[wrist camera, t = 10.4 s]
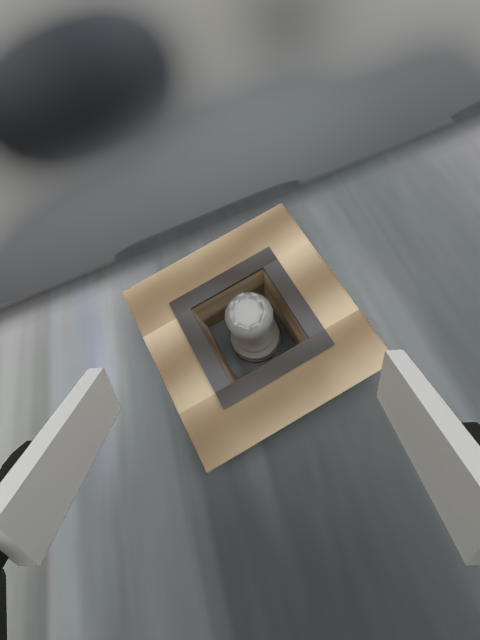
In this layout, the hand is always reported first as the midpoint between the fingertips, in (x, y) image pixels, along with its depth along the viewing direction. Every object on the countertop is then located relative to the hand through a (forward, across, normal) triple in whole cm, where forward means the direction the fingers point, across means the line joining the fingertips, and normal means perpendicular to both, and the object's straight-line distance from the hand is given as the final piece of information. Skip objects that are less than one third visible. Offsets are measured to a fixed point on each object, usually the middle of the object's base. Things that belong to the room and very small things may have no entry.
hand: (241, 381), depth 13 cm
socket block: (+11, 0, -5) cm, 12 cm away
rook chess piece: (+11, 0, -5) cm, 12 cm away
